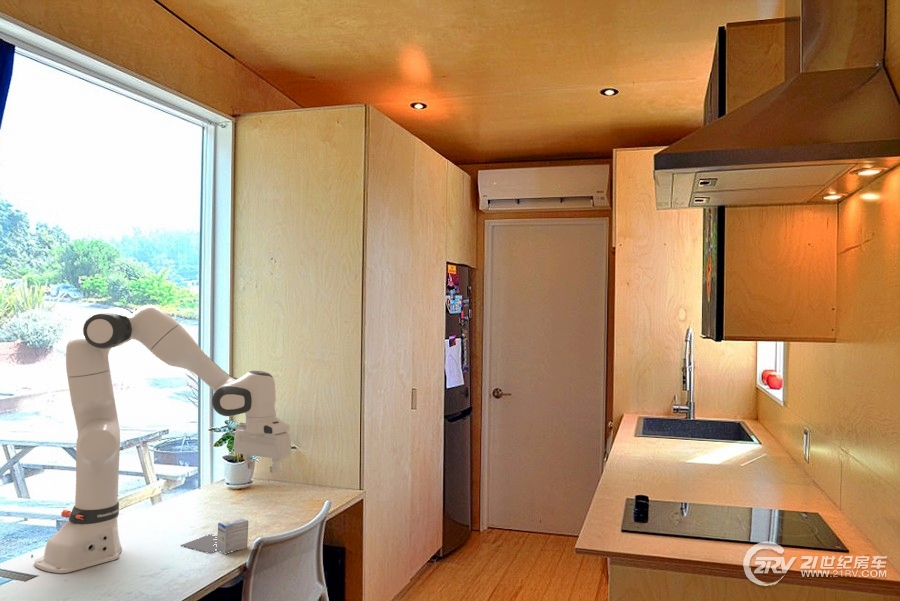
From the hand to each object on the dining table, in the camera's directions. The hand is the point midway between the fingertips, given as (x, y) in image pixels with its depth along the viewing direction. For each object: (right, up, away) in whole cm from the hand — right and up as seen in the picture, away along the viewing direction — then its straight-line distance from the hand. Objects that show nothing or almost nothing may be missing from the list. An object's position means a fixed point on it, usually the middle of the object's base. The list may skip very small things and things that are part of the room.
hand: (262, 470), depth 208 cm
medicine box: (-9, -24, 0) cm, 26 cm away
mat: (-17, -24, +4) cm, 29 cm away
